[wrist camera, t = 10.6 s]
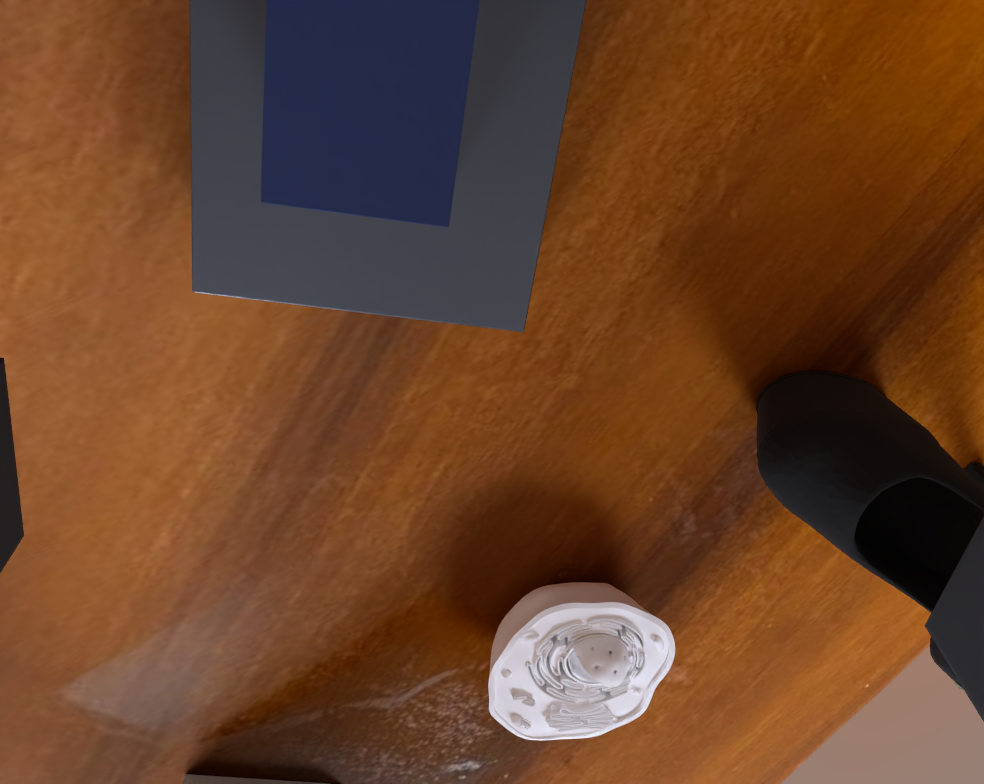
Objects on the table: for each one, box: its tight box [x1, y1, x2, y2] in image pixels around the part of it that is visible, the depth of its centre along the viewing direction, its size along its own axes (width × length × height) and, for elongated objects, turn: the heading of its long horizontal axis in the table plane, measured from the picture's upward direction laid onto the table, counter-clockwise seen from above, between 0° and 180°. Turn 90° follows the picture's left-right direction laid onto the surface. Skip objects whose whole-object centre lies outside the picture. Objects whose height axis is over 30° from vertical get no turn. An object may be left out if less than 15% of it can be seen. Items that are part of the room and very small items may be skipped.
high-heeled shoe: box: [756, 371, 984, 690], centre depth 42 cm, size 8×19×20 cm, turn 69°
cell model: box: [488, 582, 675, 740], centre depth 54 cm, size 10×12×7 cm
